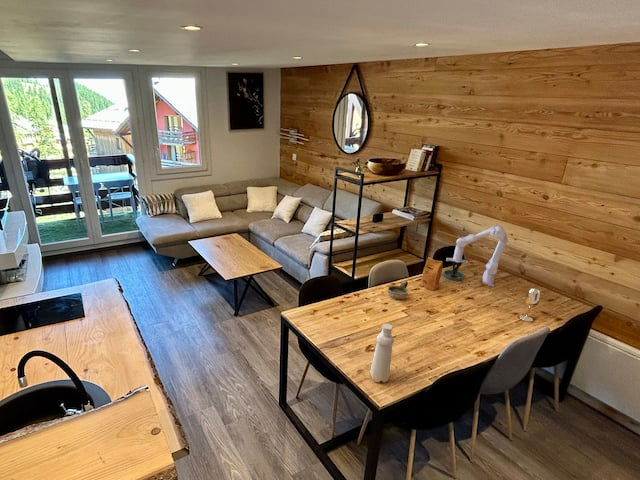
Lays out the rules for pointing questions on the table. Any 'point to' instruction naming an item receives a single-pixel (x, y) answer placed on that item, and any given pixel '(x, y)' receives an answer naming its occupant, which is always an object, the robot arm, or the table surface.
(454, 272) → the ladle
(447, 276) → the teal ring
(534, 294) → the wineglass
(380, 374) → the bottle
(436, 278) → the coffee package
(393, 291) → the bowl
